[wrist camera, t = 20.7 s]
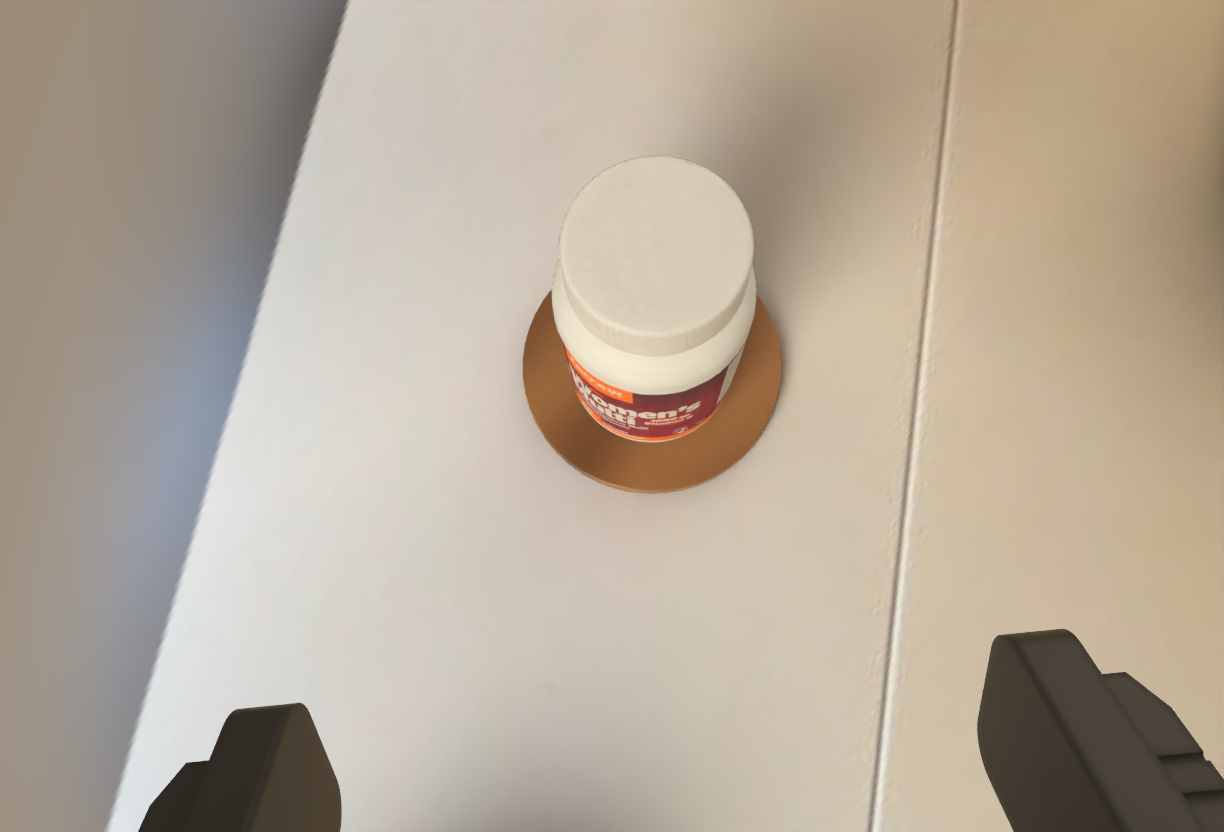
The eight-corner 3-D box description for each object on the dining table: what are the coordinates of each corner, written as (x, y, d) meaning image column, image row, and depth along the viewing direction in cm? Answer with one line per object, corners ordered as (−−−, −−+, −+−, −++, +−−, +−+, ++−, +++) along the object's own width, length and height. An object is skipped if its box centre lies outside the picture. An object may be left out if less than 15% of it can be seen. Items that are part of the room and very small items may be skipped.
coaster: (481, 430, 34) (478, 427, 34) (589, 212, 36) (588, 206, 35) (719, 536, 33) (721, 534, 32) (818, 304, 35) (821, 299, 34)
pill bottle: (561, 434, 33) (518, 341, 22) (584, 283, 35) (555, 125, 24) (723, 455, 33) (761, 371, 22) (740, 301, 34) (784, 149, 23)
